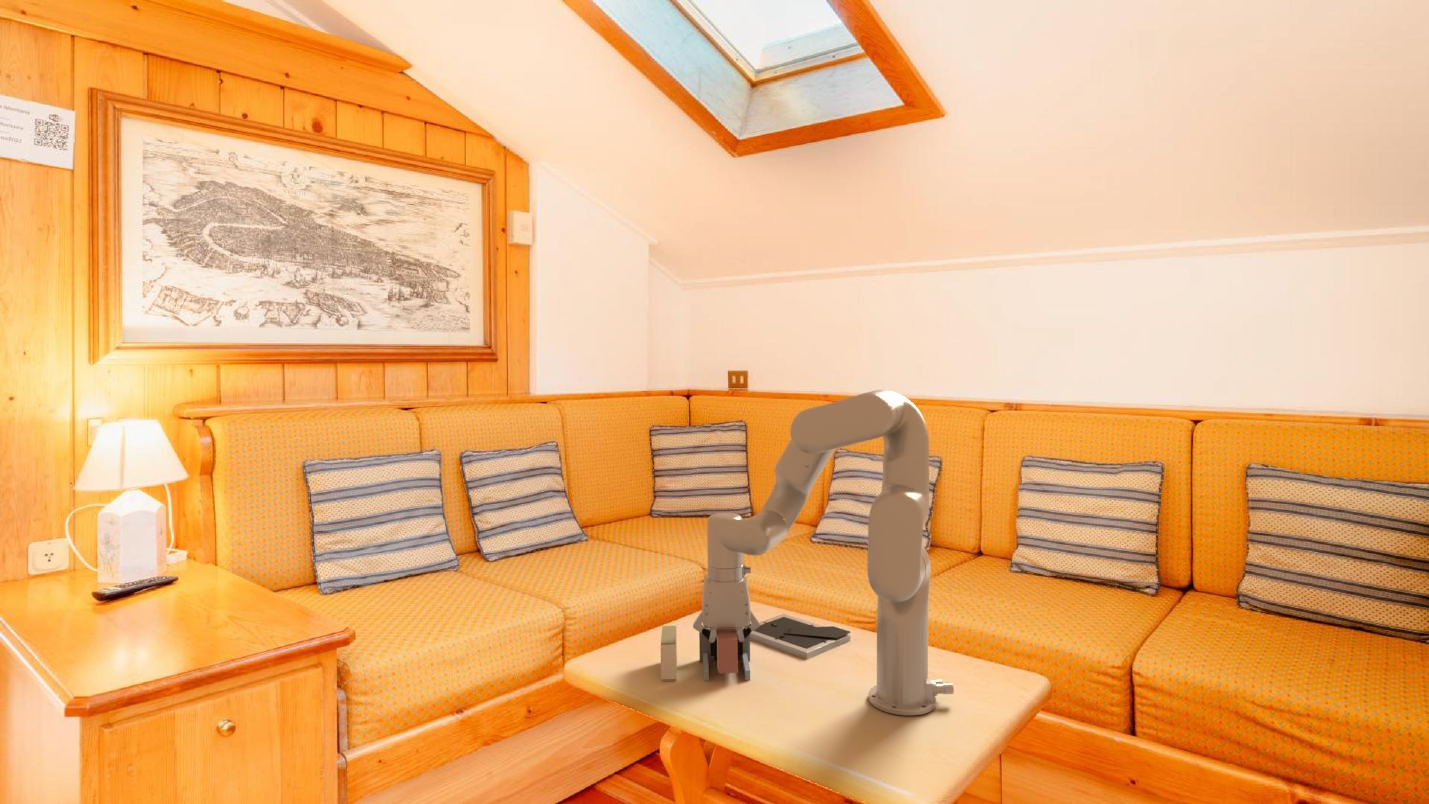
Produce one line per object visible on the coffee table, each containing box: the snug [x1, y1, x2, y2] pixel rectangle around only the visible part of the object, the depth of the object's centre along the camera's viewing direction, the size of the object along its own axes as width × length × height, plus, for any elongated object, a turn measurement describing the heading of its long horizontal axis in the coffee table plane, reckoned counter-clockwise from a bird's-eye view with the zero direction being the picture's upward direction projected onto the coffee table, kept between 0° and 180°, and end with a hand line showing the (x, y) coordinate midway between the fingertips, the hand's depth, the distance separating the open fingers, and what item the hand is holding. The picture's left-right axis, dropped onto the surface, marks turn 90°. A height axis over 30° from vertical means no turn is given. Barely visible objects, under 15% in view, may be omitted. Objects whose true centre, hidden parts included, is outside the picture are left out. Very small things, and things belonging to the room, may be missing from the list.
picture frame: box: [750, 613, 851, 660], centre depth 184 cm, size 16×3×21 cm
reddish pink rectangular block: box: [716, 628, 739, 674], centre depth 163 cm, size 4×10×7 cm, turn 2°
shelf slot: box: [698, 627, 751, 682], centre depth 165 cm, size 11×11×7 cm
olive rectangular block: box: [660, 625, 678, 682], centre depth 165 cm, size 3×10×8 cm, turn 2°
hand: (726, 657), depth 164 cm, fingers closed on reddish pink rectangular block, 4 cm apart
